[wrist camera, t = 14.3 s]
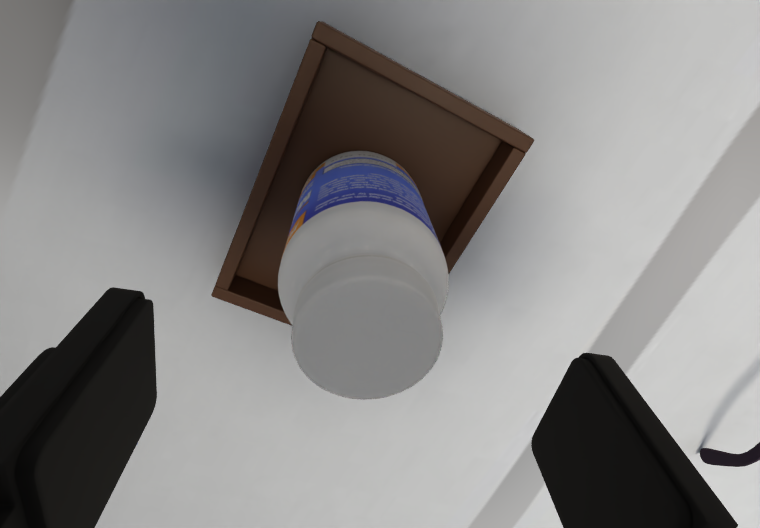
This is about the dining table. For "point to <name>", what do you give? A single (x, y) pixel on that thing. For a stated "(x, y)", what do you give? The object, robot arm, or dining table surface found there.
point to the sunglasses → (730, 457)
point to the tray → (374, 134)
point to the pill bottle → (363, 278)
